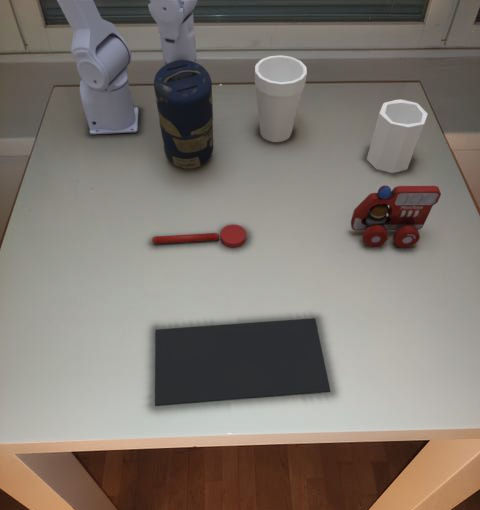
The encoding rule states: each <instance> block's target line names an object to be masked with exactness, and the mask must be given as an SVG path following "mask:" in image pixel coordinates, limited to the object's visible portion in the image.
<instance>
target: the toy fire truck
mask: <svg viewBox="0 0 480 510" xmlns="http://www.w3.org/2000/svg"><path fill="white" fill-rule="evenodd" d="M441 195H442V193H441V190H440V188H439V186H438V185H396V186H395V187H393V189H392V188H391V187H390V186H388V185H382V186H380V187H379V188H378V190H377V192H372V193H369V194H368V195H367V196H366V197H365V198H364V199H362V201H361V202H359V204H358V205H357V206H356V207H355V208H354V210H353V212H352V216H351V219H350V227H351V229H352V230H353V231H357V232H358V231H362V240H363V243H364V244H365V245H366V246H369V247H378V246H382V245H383V244H385V243H386V242H387V241H388V239H389V233H388V232H389V231H394V233H393V235H392V239H393V243H394V245H395V246H396V247H398V248H401V249H402V248H409V247H413V246H414V245H416V244H417V243H418V242H419V240H420V238H421V237H420V232H419V230H421V229H422V228H423V227H424V226H425V223H426V221H427V219H428V217H429V215H430V212H431V210H432V209H433V206H434V205H436V204H437V203H438V202H439V200H440V197H442V196H441Z"/></svg>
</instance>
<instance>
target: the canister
mask: <svg viewBox="0 0 480 510" xmlns="http://www.w3.org/2000/svg"><path fill="white" fill-rule="evenodd" d="M153 89H154V95H155V103H156V108H157V114H158V118H159V119H158V121H159V127H160V128H159V129H160V131H161V137H162V142H163V151H164V154H165V157H166V158H167V159H168V160H169V162H170V163H171V164H173V165H174V166H177V167H179V168H183V169H197V168H199V167H201V166H203V165H205V164H206V163H207V162H208V161H209V160H210V159H211V157H212V155H213V152H214V109H213V108H214V107H213V105H214V104H213V84H212V78H211V75H210V74H209V72H208V71H207V69H206V68H205V67H203V65H201V64H200V63H198V62H197V63H195V62H193V61H188V60H177V61H173V62H170V63H168V64H166V65H164V64H163V66H161V67H160V68H159V70H157V72H156V74H155V76H154V79H153Z"/></svg>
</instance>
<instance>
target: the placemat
mask: <svg viewBox="0 0 480 510" xmlns="http://www.w3.org/2000/svg"><path fill="white" fill-rule="evenodd" d="M154 337H155V338H154V339H155V342H154V345H155V347H154V406H155V407H157V406H168V405H169V406H170V405H181V404H192V403H193V404H194V403H207V402H218V401H219V402H220V401H232V400H245V399H255V398H256V399H257V398H270V397H282V396H293V395H305V394H306V395H307V394H320V393H330V392H331V387H330V382H329V377H328V372H327V367H326V363H325V358H324V353H323V348H322V343H321V340H320V334H319V331H318V324H317V321H316V317H313V318H299V319H297V318H296V319H283V320H270V321H255V322H242V323H230V324H228V323H227V324H214V325H200V326H199V325H198V326H187V327H173V328H172V327H171V328H158V329H155V334H154Z"/></svg>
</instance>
